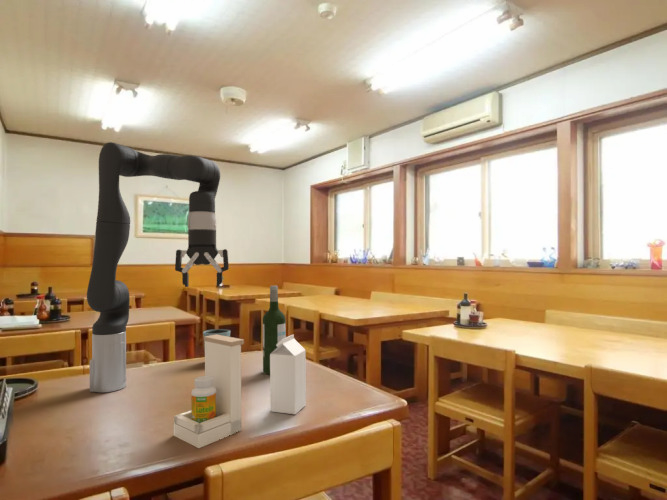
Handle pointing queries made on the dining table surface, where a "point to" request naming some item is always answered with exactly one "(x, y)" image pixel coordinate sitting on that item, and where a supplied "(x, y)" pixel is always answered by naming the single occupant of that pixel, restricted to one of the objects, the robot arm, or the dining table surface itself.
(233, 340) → the white feeder tower
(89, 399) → the dining table surface
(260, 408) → the dining table surface
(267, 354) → the wine bottle
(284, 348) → the milk carton
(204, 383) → the supplement bottle
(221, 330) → the drinking glass
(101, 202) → the robot arm
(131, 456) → the dining table surface
